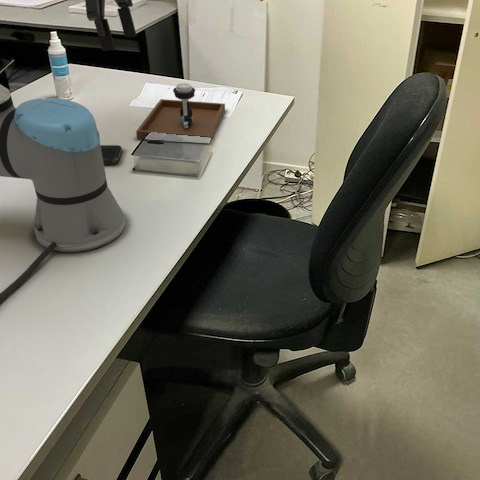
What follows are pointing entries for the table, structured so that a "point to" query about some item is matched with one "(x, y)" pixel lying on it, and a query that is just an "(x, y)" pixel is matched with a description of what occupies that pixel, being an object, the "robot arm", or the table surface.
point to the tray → (169, 121)
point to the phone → (111, 154)
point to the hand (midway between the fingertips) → (120, 43)
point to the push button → (185, 102)
